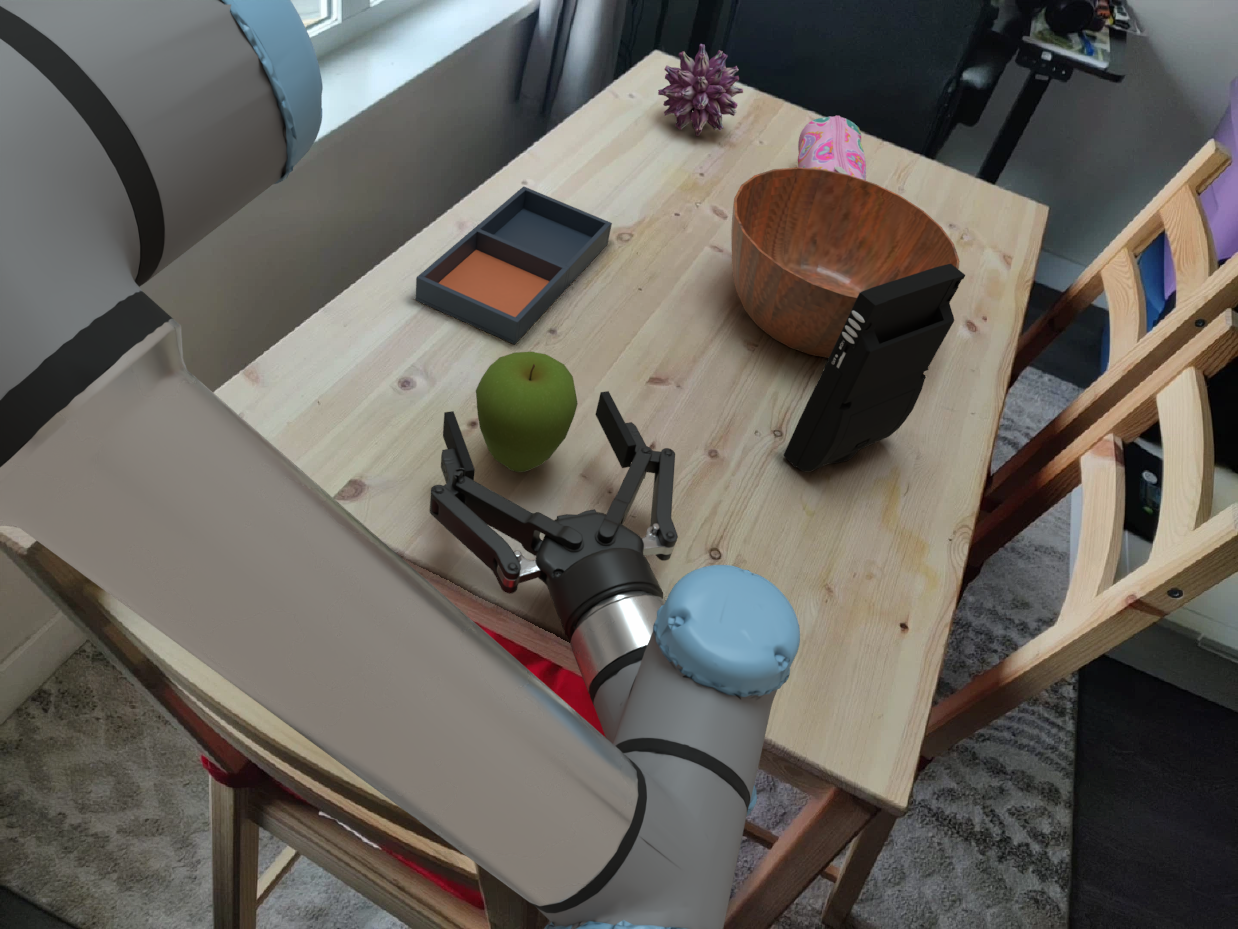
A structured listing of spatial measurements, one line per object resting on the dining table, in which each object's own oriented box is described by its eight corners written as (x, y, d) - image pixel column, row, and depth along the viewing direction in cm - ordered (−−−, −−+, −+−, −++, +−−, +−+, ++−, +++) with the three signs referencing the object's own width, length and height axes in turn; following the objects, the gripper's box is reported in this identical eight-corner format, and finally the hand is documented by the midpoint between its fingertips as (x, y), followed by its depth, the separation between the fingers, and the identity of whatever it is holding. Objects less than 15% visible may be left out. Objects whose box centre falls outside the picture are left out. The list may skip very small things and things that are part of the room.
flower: (659, 114, 137) (739, 115, 136) (655, 149, 128) (741, 150, 127) (660, 33, 129) (745, 33, 128) (656, 64, 120) (747, 65, 119)
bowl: (883, 263, 116) (921, 183, 108) (942, 398, 99) (992, 315, 91) (694, 239, 112) (718, 153, 104) (721, 376, 95) (753, 286, 87)
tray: (514, 344, 92) (517, 322, 90) (415, 300, 94) (416, 277, 92) (607, 243, 108) (612, 222, 106) (521, 207, 110) (523, 185, 108)
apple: (510, 413, 86) (523, 316, 77) (583, 458, 83) (605, 363, 75) (449, 463, 80) (457, 364, 72) (526, 513, 78) (543, 416, 70)
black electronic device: (861, 419, 94) (946, 258, 80) (892, 449, 92) (985, 289, 78) (777, 455, 88) (853, 288, 74) (808, 487, 86) (892, 321, 72)
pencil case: (860, 259, 116) (888, 197, 109) (791, 244, 115) (815, 180, 109) (850, 177, 131) (874, 117, 124) (788, 162, 130) (809, 102, 124)
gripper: (440, 689, 62) (377, 464, 75) (754, 613, 72) (651, 424, 84) (445, 630, 57) (377, 398, 70) (783, 555, 66) (669, 363, 79)
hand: (527, 412), depth 77 cm, fingers open, 13 cm apart
